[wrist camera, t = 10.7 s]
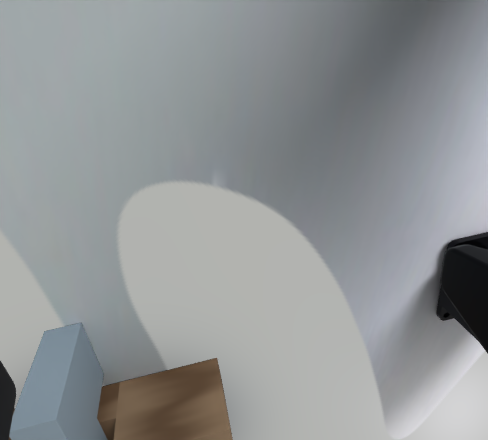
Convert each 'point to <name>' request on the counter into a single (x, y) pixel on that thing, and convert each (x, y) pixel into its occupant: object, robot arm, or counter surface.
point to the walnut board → (167, 406)
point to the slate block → (61, 390)
